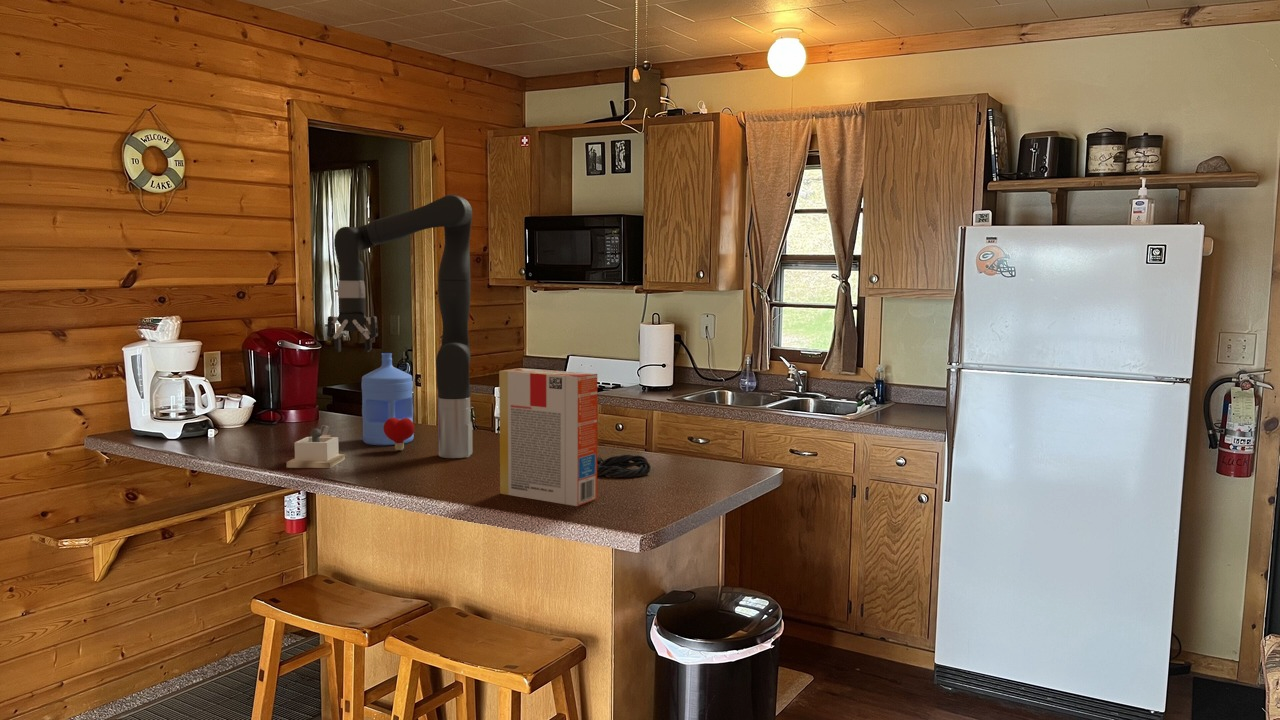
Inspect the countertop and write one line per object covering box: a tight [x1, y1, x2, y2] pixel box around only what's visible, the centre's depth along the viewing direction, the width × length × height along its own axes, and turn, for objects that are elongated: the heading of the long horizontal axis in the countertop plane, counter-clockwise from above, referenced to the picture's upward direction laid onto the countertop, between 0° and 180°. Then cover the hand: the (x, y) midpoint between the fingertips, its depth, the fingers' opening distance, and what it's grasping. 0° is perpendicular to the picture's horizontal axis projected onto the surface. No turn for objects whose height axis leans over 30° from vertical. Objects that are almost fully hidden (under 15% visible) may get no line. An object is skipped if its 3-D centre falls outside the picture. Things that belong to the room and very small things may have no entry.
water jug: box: [361, 352, 415, 446], centre depth 292 cm, size 16×16×28 cm
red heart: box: [384, 418, 416, 452], centre depth 277 cm, size 9×7×10 cm
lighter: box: [309, 424, 330, 437], centre depth 273 cm, size 7×2×8 cm, turn 150°
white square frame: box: [294, 434, 340, 461], centre depth 261 cm, size 9×12×5 cm
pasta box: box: [498, 367, 598, 507], centre depth 221 cm, size 23×8×30 cm, turn 59°
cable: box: [597, 454, 651, 479], centre depth 249 cm, size 17×14×4 cm
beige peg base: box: [286, 428, 346, 469], centre depth 258 cm, size 12×12×10 cm
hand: (353, 351), depth 271 cm, fingers open, 8 cm apart
